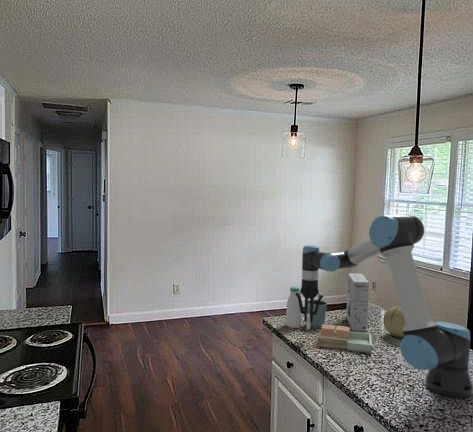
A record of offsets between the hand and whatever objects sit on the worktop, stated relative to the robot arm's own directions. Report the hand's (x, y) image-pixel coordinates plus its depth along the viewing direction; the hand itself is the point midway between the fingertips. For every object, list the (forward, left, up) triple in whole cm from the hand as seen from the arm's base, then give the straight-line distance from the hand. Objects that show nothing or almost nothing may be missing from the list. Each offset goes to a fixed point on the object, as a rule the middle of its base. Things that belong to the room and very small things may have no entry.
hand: (308, 328), depth 195 cm
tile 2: (0, -16, -1) cm, 16 cm away
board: (0, -12, -5) cm, 13 cm away
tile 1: (0, -9, -1) cm, 9 cm away
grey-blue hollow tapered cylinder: (+23, -2, -5) cm, 24 cm away
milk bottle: (+17, +9, -5) cm, 20 cm away
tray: (0, -23, -5) cm, 24 cm away
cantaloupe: (+19, -42, -5) cm, 46 cm away
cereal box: (+31, -22, -5) cm, 38 cm away
